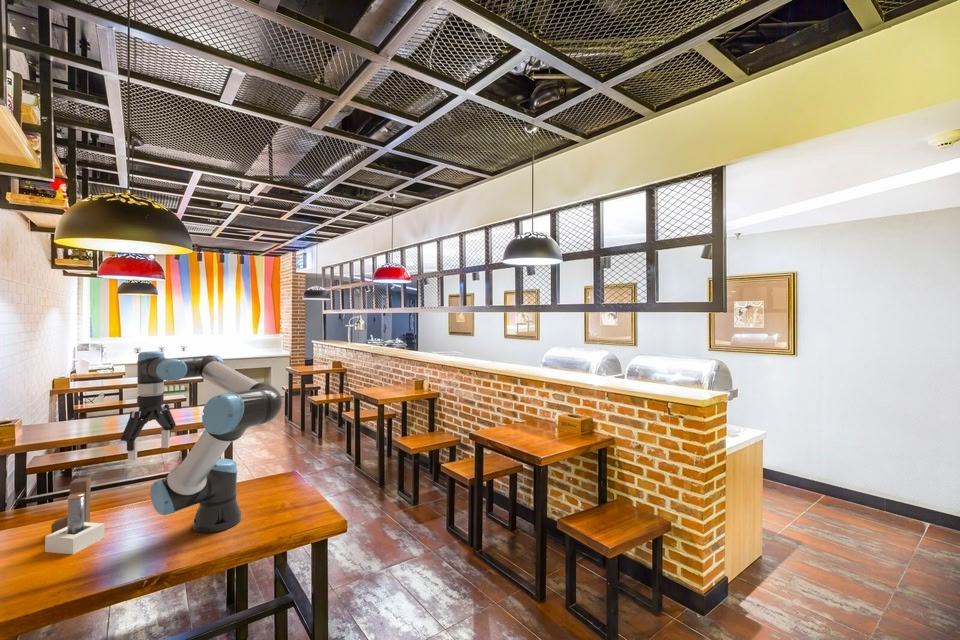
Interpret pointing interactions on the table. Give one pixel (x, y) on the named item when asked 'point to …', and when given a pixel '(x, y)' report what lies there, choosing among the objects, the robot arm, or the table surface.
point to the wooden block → (85, 487)
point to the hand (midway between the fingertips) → (149, 453)
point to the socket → (74, 539)
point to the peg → (76, 513)
